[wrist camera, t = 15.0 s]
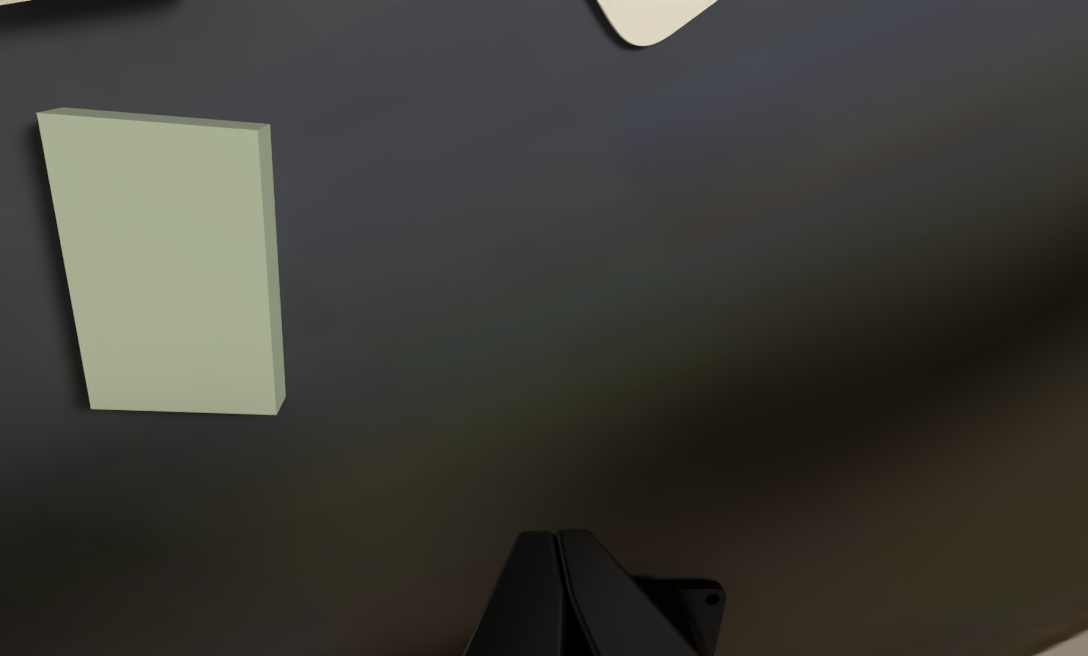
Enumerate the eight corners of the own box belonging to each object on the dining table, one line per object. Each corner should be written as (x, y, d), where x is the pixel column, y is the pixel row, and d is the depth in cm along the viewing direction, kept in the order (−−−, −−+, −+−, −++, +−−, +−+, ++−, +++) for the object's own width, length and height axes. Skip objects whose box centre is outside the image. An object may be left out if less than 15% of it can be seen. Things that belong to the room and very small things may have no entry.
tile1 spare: (276, 414, 20) (257, 130, 17) (90, 409, 20) (37, 113, 17) (289, 388, 22) (274, 121, 19) (117, 382, 21) (72, 105, 18)
